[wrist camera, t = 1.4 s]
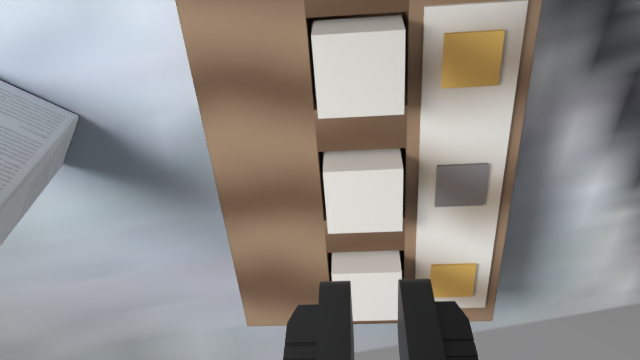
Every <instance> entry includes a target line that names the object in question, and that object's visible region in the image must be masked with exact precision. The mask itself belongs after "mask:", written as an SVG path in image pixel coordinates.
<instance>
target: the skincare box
mask: <svg viewBox="0 0 640 360" xmlns="http://www.w3.org/2000/svg"><path fill="white" fill-rule="evenodd" d="M78 119H79V116H78V115H76V114H74V113H72V112H69V111H67V110H65V109H62V108H60V107H58V106H56V105H54V104H51V103H49V102H47V101H45V100H43V99H41V98H38V97H36V96H34V95H32V94H29V93H27V92H25V91H23V90H20V89H18V88H16V87H14V86H12V85H10V84H7V83H5V82H3V81H1V80H0V246H1V244H2V243H3V242H4V240H5V239H6V238H7V236H8V235H9V234H10V232H11V231H12V230H13V229H14V227H15V226H16V225H17V224H18V222H19V221H20V220H21V218H22V217H23V216H24V214H25V213H26V212H27V211H28V209H29V208H30V207H31V205H32V204H33V203H34V201H35V200H36V199H37V198H38V196H39V195H40V194H41V192H42V191H43V190H44V188H45V187H46V186H47V185H48V183H49V182H50V181H51V179H52V178H53V177H54V175H55V174H56V173H57V172H58V170H59V169H60V168H61V166H62V165H63V162H64V160H65V156H66V153H67V150H68V147H69V145H70V142H71V139H72V136H73V134H74V131H75V128H76V125H77V122H78Z"/></svg>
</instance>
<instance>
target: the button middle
mask: <svg viewBox="0 0 640 360" xmlns="http://www.w3.org/2000/svg"><path fill="white" fill-rule="evenodd" d="M323 181H324V193H325V205H326V216H327V228H328V234H338V233H367V232H396V231H402V225H403V164H402V158H401V152H400V148H391V149H369V150H346V151H324V159H323Z"/></svg>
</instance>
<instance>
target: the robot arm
mask: <svg viewBox="0 0 640 360" xmlns="http://www.w3.org/2000/svg"><path fill="white" fill-rule="evenodd" d="M398 342H399V353H400V360H478V355H477V351H476V347H475V343H474V340H473V335H472V331H471V327H470V323H469V319H468V317H467V316H466V315H465V313H464V312H463V311H462V310H461V308H460V307H459V306H458V304H457V303H456V302H455V301H435V300H434V294H433V289H432V284H431V280H430V279H399V280H398ZM283 360H354V335H353V315H352V298H351V282H350V281H321V282H320V285H319V303H318V304H312V305H298V306H297V307H296V309H295V311H294V312H293V314H292V316H291V317H290V319H289V321H288V322H287V329H286V338H285V347H284V357H283Z"/></svg>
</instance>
